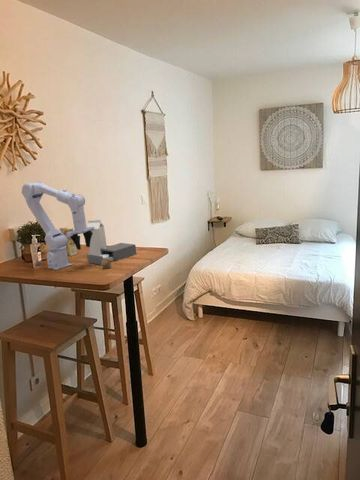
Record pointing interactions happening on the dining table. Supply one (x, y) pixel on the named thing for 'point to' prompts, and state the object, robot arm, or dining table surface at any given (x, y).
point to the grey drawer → (98, 258)
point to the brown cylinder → (106, 263)
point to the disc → (105, 256)
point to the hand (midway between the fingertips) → (83, 248)
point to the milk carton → (97, 237)
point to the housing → (120, 250)
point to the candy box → (69, 242)
